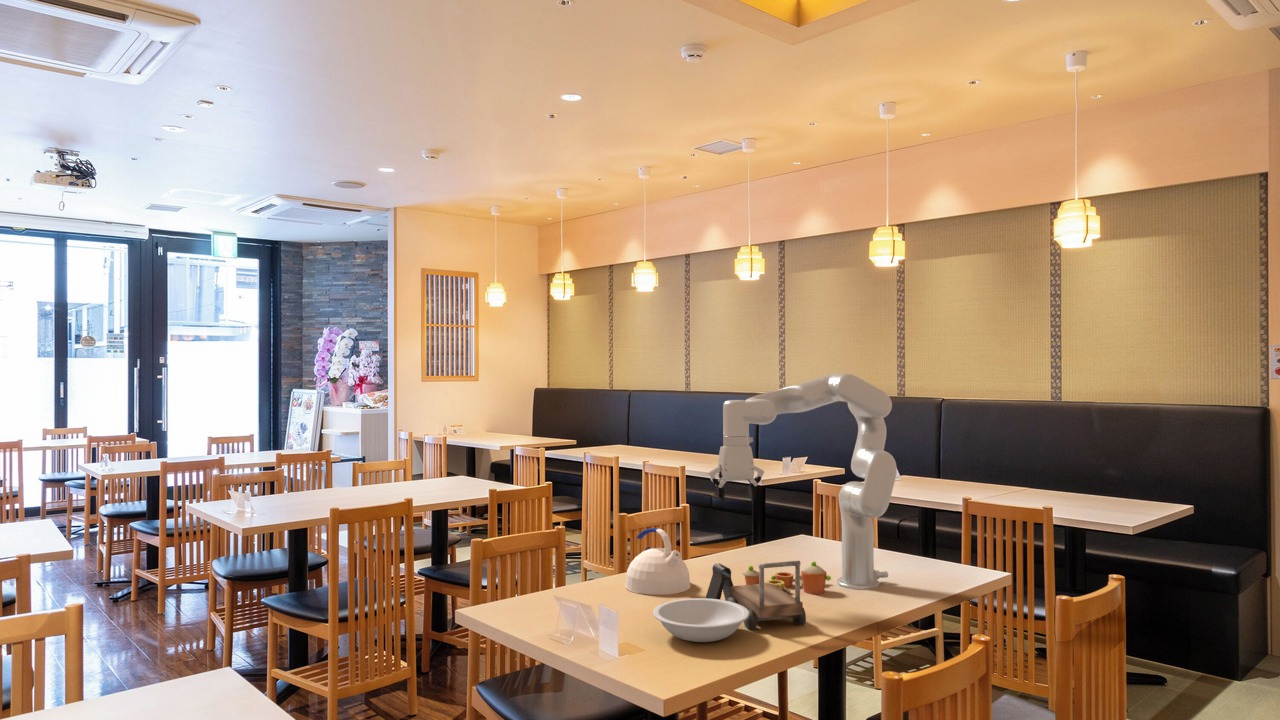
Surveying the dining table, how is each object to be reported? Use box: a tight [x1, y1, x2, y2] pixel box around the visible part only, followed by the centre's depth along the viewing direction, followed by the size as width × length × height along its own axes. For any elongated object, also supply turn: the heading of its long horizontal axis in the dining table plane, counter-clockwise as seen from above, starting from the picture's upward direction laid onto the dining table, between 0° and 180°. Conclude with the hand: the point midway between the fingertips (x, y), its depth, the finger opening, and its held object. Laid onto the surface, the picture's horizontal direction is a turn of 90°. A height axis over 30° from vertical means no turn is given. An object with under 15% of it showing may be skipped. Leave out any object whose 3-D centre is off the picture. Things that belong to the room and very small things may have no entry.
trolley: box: [727, 560, 807, 631], centre depth 221 cm, size 15×20×18 cm
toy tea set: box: [742, 561, 832, 595], centre depth 252 cm, size 26×16×10 cm, turn 94°
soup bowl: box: [652, 597, 749, 643], centre depth 208 cm, size 24×24×7 cm
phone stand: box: [705, 562, 734, 601], centre depth 233 cm, size 9×6×12 cm, turn 109°
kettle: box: [624, 527, 692, 596], centre depth 256 cm, size 20×21×18 cm
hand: (736, 499), depth 245 cm, fingers open, 9 cm apart
